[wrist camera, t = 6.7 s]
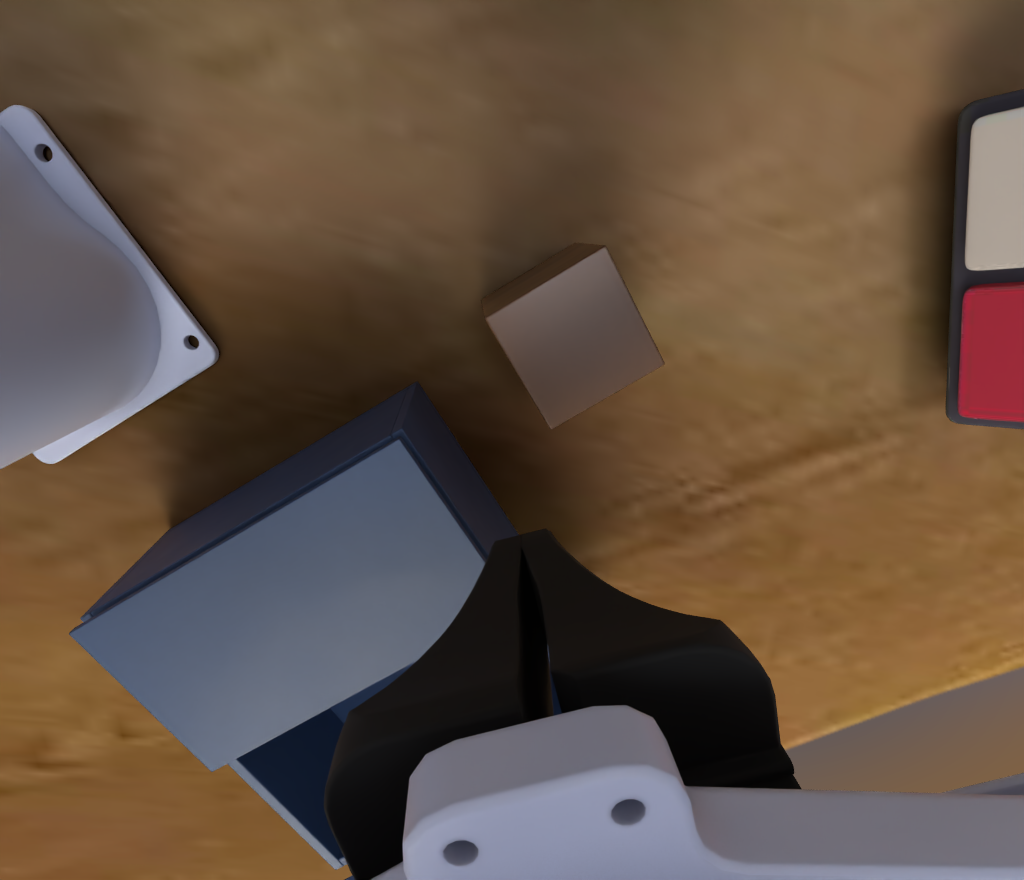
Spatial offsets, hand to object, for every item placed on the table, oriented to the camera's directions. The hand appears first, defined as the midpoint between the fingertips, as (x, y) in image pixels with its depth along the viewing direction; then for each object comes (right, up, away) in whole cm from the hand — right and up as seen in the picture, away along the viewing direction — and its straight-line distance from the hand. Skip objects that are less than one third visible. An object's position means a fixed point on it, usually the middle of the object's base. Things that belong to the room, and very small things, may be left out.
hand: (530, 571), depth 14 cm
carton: (-6, -3, +12) cm, 13 cm away
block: (+1, +8, +8) cm, 11 cm away
